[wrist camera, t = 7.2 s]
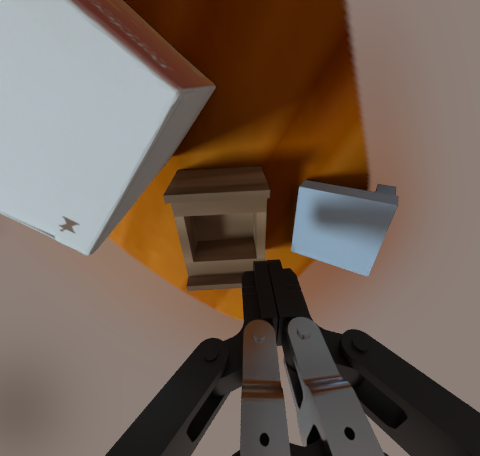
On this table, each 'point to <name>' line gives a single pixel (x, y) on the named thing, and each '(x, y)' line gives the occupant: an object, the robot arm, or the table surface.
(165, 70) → the small box
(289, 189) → the table surface
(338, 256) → the lid
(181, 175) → the case
